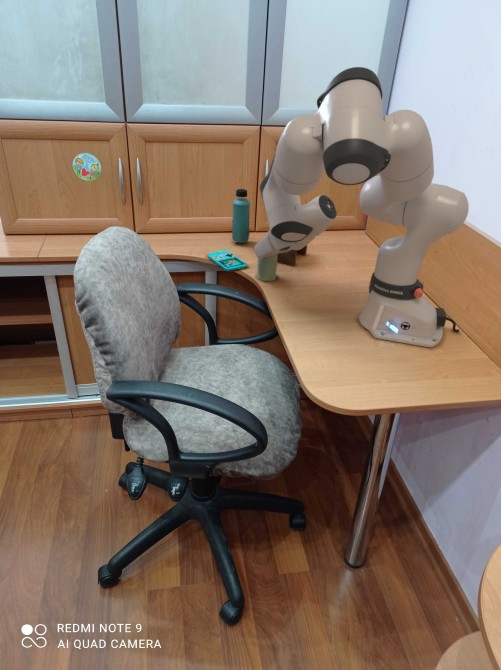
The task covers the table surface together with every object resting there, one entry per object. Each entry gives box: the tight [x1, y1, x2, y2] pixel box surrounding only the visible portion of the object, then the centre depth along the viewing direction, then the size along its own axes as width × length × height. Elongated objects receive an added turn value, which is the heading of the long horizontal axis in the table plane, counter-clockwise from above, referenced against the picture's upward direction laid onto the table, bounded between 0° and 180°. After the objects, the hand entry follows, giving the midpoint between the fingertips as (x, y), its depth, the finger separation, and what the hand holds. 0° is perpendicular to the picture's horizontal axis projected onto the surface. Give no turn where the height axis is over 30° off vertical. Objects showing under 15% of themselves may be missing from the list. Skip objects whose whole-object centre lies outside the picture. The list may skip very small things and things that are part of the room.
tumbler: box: [256, 254, 278, 282], centre depth 152 cm, size 6×6×9 cm
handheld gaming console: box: [207, 249, 248, 272], centre depth 164 cm, size 8×1×15 cm
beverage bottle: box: [231, 188, 251, 243], centre depth 174 cm, size 6×7×20 cm
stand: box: [277, 245, 308, 267], centre depth 168 cm, size 13×12×7 cm
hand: (272, 254), depth 150 cm, fingers open, 8 cm apart
